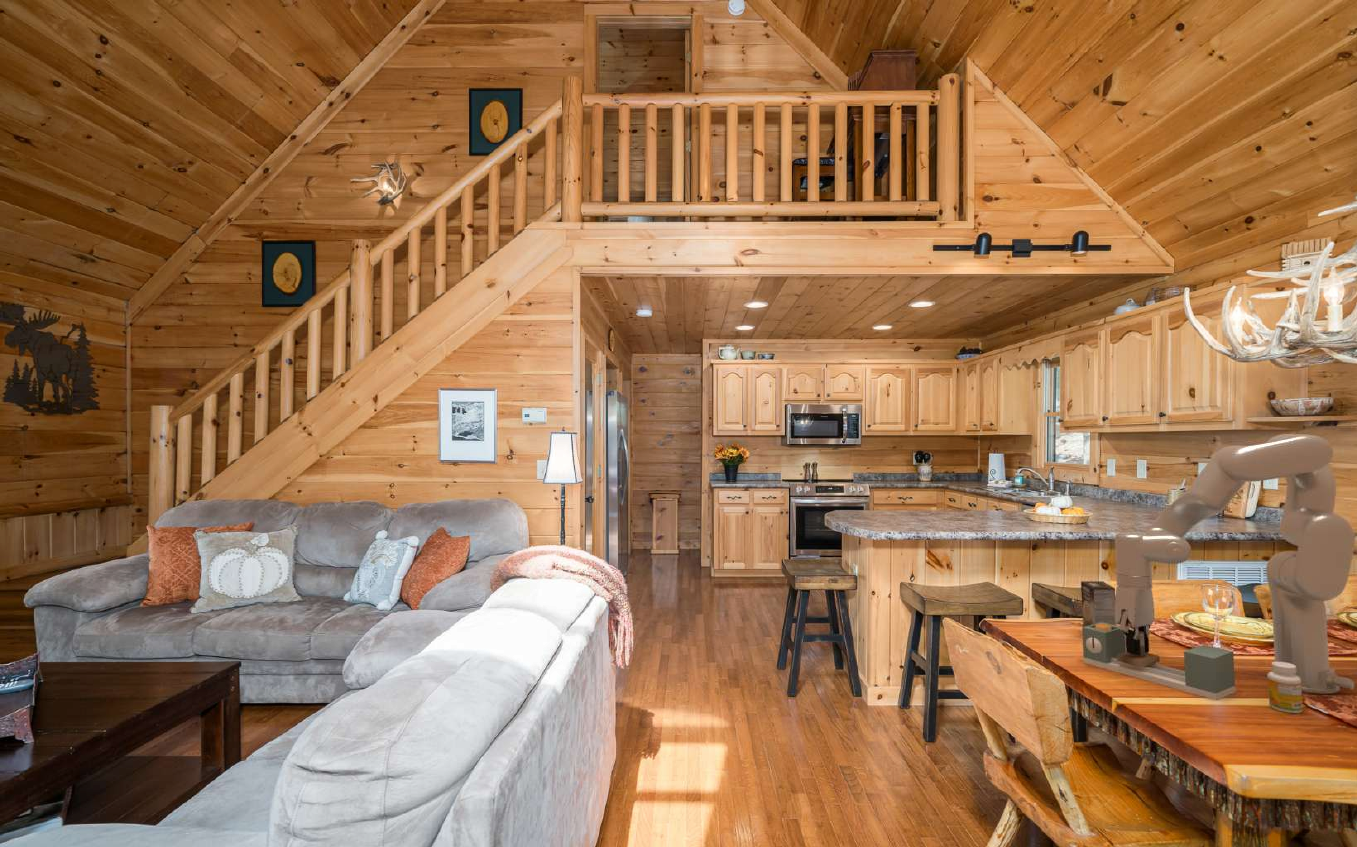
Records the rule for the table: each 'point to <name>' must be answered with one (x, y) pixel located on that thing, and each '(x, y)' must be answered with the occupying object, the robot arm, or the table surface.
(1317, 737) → the table surface
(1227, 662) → the near cabinet
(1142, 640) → the carriage
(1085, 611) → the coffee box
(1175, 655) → the table surface
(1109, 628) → the button
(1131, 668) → the rail track
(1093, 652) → the far cabinet
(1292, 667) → the supplement bottle
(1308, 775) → the table surface
